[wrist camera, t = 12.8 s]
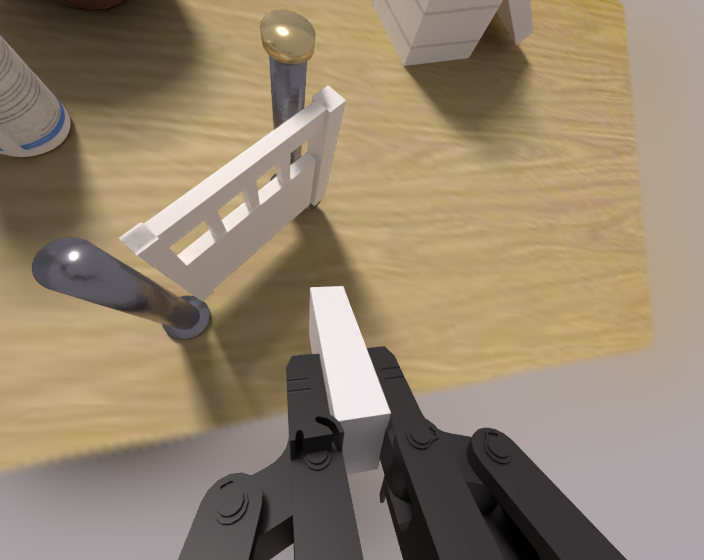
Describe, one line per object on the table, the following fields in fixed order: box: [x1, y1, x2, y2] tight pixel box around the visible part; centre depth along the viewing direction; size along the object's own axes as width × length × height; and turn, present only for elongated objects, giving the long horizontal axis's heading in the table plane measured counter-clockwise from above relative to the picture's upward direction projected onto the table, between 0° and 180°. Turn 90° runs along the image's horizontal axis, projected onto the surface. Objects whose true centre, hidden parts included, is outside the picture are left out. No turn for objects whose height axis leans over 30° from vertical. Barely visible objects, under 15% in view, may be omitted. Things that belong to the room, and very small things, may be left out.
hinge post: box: [32, 237, 211, 339], centre depth 25 cm, size 5×5×20 cm
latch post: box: [260, 10, 315, 181], centre depth 32 cm, size 5×5×21 cm
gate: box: [119, 85, 346, 302], centre depth 30 cm, size 20×2×18 cm, turn 139°
